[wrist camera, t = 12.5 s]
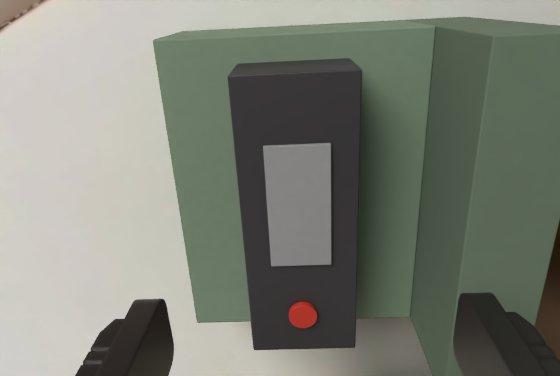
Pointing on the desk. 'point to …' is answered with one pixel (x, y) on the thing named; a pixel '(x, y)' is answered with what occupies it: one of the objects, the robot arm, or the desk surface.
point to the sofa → (391, 163)
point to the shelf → (551, 302)
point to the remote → (299, 198)
